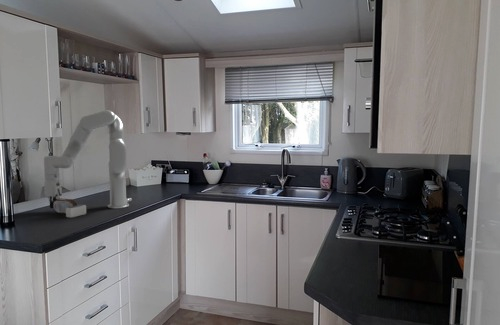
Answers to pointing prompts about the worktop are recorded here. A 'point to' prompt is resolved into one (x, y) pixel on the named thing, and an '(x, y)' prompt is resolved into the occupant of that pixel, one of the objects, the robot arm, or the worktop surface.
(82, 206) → the block
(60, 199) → the bread slice
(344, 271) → the worktop surface
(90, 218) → the worktop surface
